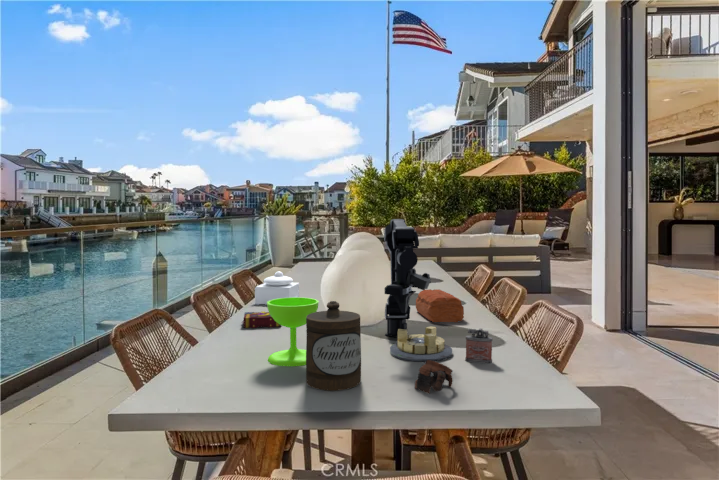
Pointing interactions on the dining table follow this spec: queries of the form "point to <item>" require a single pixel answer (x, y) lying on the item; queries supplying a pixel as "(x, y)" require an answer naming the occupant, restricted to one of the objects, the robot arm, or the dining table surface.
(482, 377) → the dining table surface
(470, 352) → the lighter
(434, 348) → the tan segmented ring
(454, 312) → the bread
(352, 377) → the wooden container
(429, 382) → the brown leather rounded piece
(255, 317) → the decorative book
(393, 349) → the grey round tray
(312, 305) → the wineglass
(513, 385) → the dining table surface
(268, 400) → the dining table surface
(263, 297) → the white lidded box
